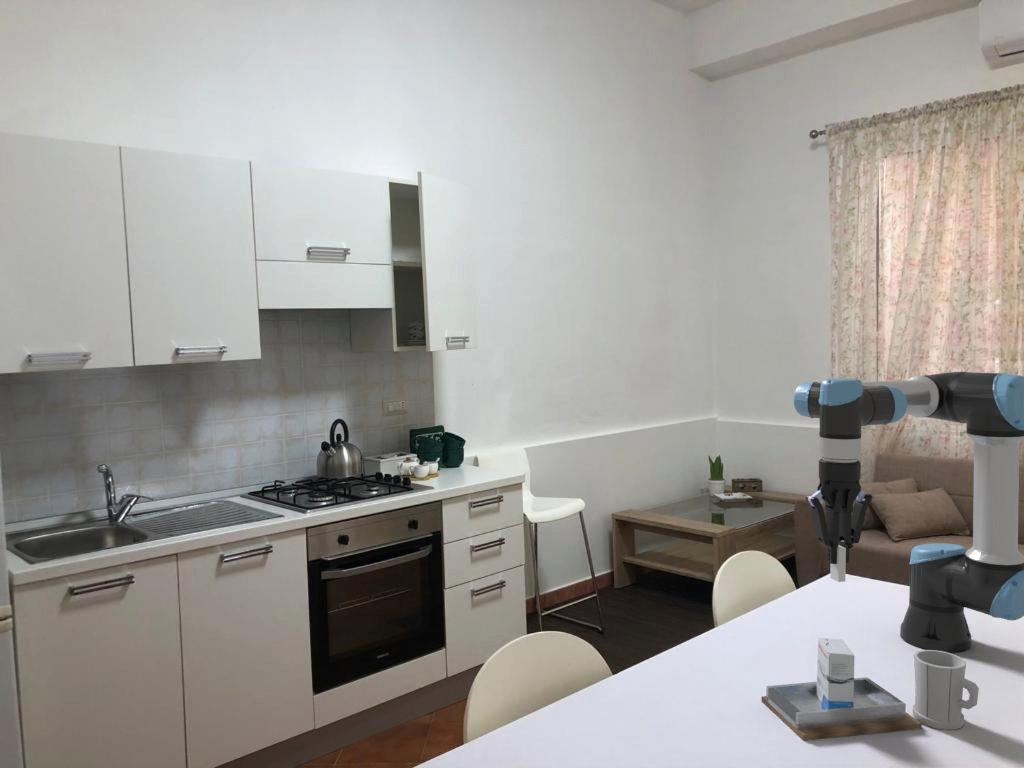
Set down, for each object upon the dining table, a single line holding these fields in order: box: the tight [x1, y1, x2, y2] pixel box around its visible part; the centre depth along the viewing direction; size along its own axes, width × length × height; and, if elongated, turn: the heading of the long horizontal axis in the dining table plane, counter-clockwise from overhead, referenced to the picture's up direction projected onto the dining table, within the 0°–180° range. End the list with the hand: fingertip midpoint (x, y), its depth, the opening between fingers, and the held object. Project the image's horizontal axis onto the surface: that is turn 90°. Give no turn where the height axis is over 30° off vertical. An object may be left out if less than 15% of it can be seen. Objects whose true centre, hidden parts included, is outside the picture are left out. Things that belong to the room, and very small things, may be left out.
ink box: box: [816, 637, 855, 709], centre depth 158 cm, size 8×5×12 cm, turn 173°
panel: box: [760, 695, 923, 742], centre depth 159 cm, size 24×16×1 cm, turn 100°
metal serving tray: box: [765, 676, 907, 730], centre depth 159 cm, size 22×12×3 cm, turn 100°
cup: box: [911, 649, 980, 731], centre depth 156 cm, size 10×9×12 cm
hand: (837, 579), depth 159 cm, fingers closed
